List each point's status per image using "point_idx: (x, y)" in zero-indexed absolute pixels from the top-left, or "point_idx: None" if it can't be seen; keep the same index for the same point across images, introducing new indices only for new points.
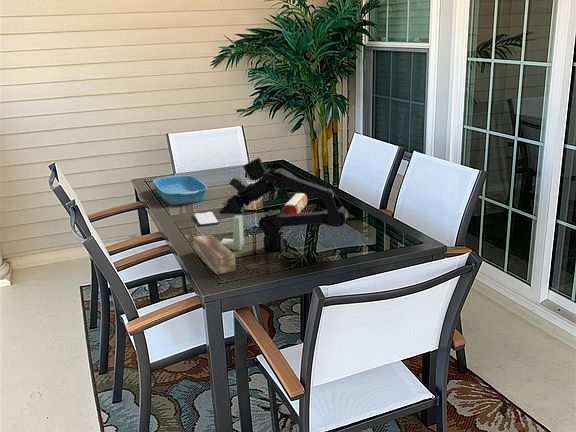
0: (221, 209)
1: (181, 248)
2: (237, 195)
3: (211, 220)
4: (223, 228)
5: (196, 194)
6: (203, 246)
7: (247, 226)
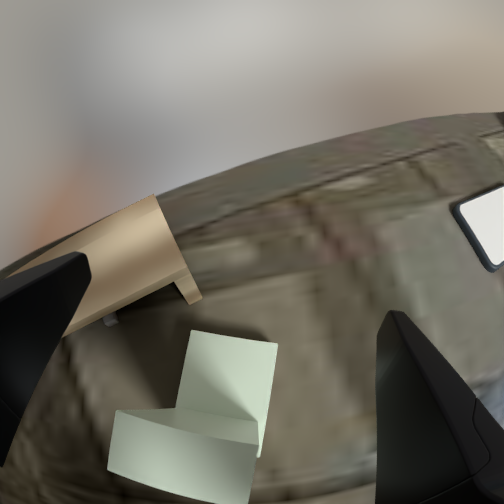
0: (31, 268)
1: (217, 185)
2: (479, 499)
3: (497, 240)
4: (460, 302)
5: None
6: (33, 260)
7: (489, 397)
